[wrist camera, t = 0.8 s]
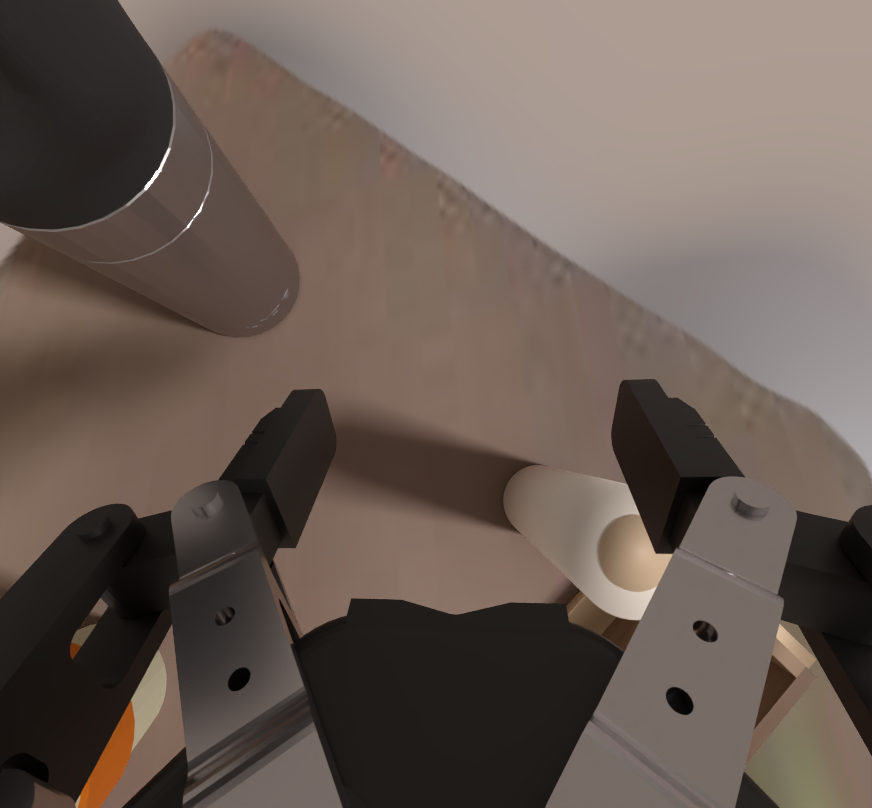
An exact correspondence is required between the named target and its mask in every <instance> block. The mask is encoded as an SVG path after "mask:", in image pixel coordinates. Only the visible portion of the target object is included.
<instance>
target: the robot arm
mask: <svg viewBox="0 0 872 808" xmlns="http://www.w3.org/2000/svg"><path fill="white" fill-rule="evenodd" d="M0 222H1V223H3V224H5V225H7V226H8V227H10V228H12V229H14V230H16V231H18V232H20V233H22V234H24V235H26V236H28V237H30V238H32V239H34V240H36V241H38V242H40V243H42V244H44V245H46V246H48V247H50V248H52V249H54V250H56V251H58V252H60V253H62V254H64V255H66V256H68V257H70V258H72V259H73V260H75V261H77V262H79V263H81V264H83V265H85V266H87V267H89V268H91V269H93V270H95V271H97V272H99V273H101V274H103V275H104V276H106V277H108V278H110V279H112V280H114V281H116V282H118V283H120V284H122V285H124V286H126V287H128V288H130V289H132V290H134V291H136V292H137V293H139V294H141V295H143V296H145V297H147V298H149V299H151V300H153V301H155V302H157V303H159V304H161V305H163V306H165V307H167V308H168V309H170V310H172V311H174V312H176V313H178V314H180V315H182V316H184V317H185V318H187V319H189V320H191V321H193V322H195V323H197V324H199V325H201V326H203V327H205V328H207V329H209V330H211V331H213V332H216V333H218V334H221V335H224V336H231V337H249V336H253V335H257V334H261V333H263V332H265V331H267V330H269V329H271V328H272V327H274V326H275V325H276V324H278V323H279V322H280V321H281V320H282V319H283V318H284V317H285V316H286V315H287V313H288V312H289V311H290V309H291V307H292V305H293V304H294V302H295V299H296V296H297V293H298V289H299V272H298V266H297V263H296V261H295V258H294V255H293V254H292V252H291V251H290V249H289V248H288V246H287V245H286V243H285V242H284V240H283V239H282V237H281V236H280V234H279V233H278V231H277V230H276V228H275V227H274V225H273V224H272V222H271V221H270V219H269V218H268V216H267V215H266V214H265V212H264V211H263V209H262V208H261V206H260V205H259V203H258V202H257V201H256V199H255V198H254V196H253V195H252V193H251V192H250V191H249V189H248V188H247V186H246V185H245V183H244V182H243V180H242V179H241V178H240V176H239V175H238V173H237V172H236V170H235V169H234V167H233V166H232V165H231V163H230V162H229V160H228V159H227V157H226V156H225V154H224V153H223V152H222V150H221V149H220V147H219V146H218V144H217V143H216V141H215V140H214V139H213V137H212V136H211V134H210V133H209V131H208V130H207V128H206V127H205V126H204V124H203V123H202V121H201V120H200V118H199V117H198V116H197V115H196V113H195V112H194V110H193V109H192V107H191V106H190V104H189V103H188V102H187V100H186V99H185V97H184V96H183V94H182V93H181V92H180V90H179V89H178V87H177V86H176V84H175V83H174V81H173V80H172V79H171V77H170V76H169V74H168V73H167V71H166V70H165V68H164V67H163V66H162V64H161V63H160V61H159V60H158V59H157V57H156V56H155V54H154V53H153V51H152V50H151V48H150V47H149V46H148V44H147V43H146V42H145V40H144V39H143V37H142V36H141V34H140V33H139V32H138V30H137V29H136V27H135V26H134V24H133V23H132V21H131V20H130V18H129V17H128V15H127V14H126V12H125V11H124V9H123V8H122V6H121V5H120V3H119V2H118V0H0ZM611 439H612V446H613V450H614V453H615V455H616V458H617V460H618V463H619V465H620V468H621V470H622V473H623V475H624V478H625V480H626V482H627V485H628V487H629V490H630V492H631V495H632V497H633V500H634V502H635V505H636V507H637V509H638V512H639V514H640V517H641V519H642V522H643V524H644V527H645V529H646V532H647V534H648V536H649V539H650V541H651V544H652V546H653V549H654V551H655V554H673V555H672V557H671V559H670V561H669V563H668V565H667V567H666V569H665V571H664V573H663V575H662V577H661V579H660V581H659V583H658V585H657V587H656V589H655V591H654V594H653V596H652V598H651V600H650V602H649V604H648V606H647V608H646V610H645V612H644V614H643V616H642V618H641V620H640V622H639V624H638V626H637V628H636V630H635V632H634V634H633V636H632V638H631V640H630V642H629V644H628V646H627V648H626V650H625V651H624V650H623V649H621V648H620V647H619V646H617V645H616V644H614V643H613V642H611V641H610V640H609V639H607V638H605V637H604V636H602V635H600V634H598V633H596V632H594V631H593V630H590V629H588V628H585V627H583V626H580V625H578V624H575V623H571V622H569V618H568V612H567V607H566V604H546V603H507V604H503V605H498V606H494V607H490V608H485V609H481V610H477V611H472V612H468V613H464V614H458V615H453V614H448V613H445V612H441V611H438V610H435V609H431V608H428V607H424V606H421V605H418V604H414V603H411V602H407V601H404V600H389V599H351V602H350V605H349V609H348V613H347V616H344V617H340V618H337V619H335V620H332V621H329V622H327V623H325V624H323V625H321V626H319V627H317V628H315V629H313V630H312V631H310V632H309V633H307V634H305V635H304V636H303V634H302V631H301V629H300V627H299V624H298V622H297V619H296V616H295V614H294V611H293V608H292V606H291V603H290V601H289V598H288V595H287V593H286V590H285V587H284V585H283V582H282V579H281V577H280V574H279V571H278V569H277V566H276V564H275V562H274V559H273V558H274V556H275V553H276V551H277V549H278V548H296V546H297V543H298V541H299V539H300V536H301V534H302V531H303V529H304V527H305V524H306V522H307V519H308V517H309V514H310V512H311V510H312V507H313V505H314V502H315V500H316V498H317V495H318V493H319V490H320V488H321V486H322V483H323V481H324V478H325V476H326V473H327V471H328V469H329V466H330V464H331V461H332V459H333V457H334V454H335V450H336V434H335V430H334V426H333V422H332V419H331V415H330V412H329V408H328V405H327V401H326V397H325V394H324V392H323V391H322V390H321V389H305V390H293V391H292V392H291V393H290V395H289V396H288V398H287V399H286V401H285V402H284V404H283V405H282V407H281V408H275V409H274V410H272V411H271V412H270V413H268V414H267V415H266V416H264V417H263V418H262V419H261V420H260V421H259V423H258V424H257V426H256V427H255V428H254V430H253V431H252V434H250V436H249V437H248V438H247V440H246V441H245V445H243V446H242V447H241V448H240V450H239V451H238V453H237V454H236V455H235V457H234V458H233V460H232V461H231V463H230V464H229V465H228V467H227V468H226V470H225V471H224V473H223V474H222V475H221V477H220V478H219V480H217V481H211V482H207V483H205V484H202V485H200V486H198V487H196V488H194V489H192V490H190V491H189V492H188V493H186V494H185V495H184V496H183V497H181V498H180V499H179V501H178V502H177V503H176V504H175V506H174V508H173V510H172V511H167V512H163V513H159V514H155V515H151V516H147V517H143V518H139V519H138V517H137V516H136V514H135V513H134V512H133V510H132V509H131V508H130V507H129V506H127V505H125V504H110V505H106V506H103V507H99V508H97V509H94V510H92V511H90V512H88V513H86V514H84V515H83V516H81V517H79V518H78V519H77V520H75V521H74V522H72V523H71V524H70V525H69V526H68V527H67V528H66V529H65V530H64V531H63V532H62V533H61V534H60V535H59V536H58V537H57V538H56V539H55V540H54V542H53V543H52V544H51V545H50V546H49V547H48V548H47V549H46V550H45V551H44V552H43V554H42V555H41V556H40V557H39V558H38V559H37V560H36V561H35V562H34V563H33V564H32V565H31V567H30V568H29V569H28V570H27V571H26V572H25V573H24V574H23V575H22V576H21V577H20V579H19V580H18V581H17V582H16V583H15V584H14V585H13V586H12V587H11V588H10V589H9V590H8V592H7V593H6V594H5V595H4V596H3V597H2V598H1V599H0V808H76V806H75V803H76V802H77V800H78V798H79V796H80V794H81V792H82V790H83V788H84V787H85V785H86V783H87V781H88V779H89V777H90V775H91V774H92V772H93V770H94V768H95V766H96V764H97V762H98V761H99V759H100V757H101V755H102V753H103V751H104V749H105V748H106V746H107V744H108V742H109V740H110V738H111V736H112V735H113V733H114V731H115V729H116V727H117V725H118V723H119V721H120V720H121V718H122V716H123V714H124V712H125V710H126V708H127V707H128V705H129V703H130V701H131V699H132V697H133V695H134V694H135V692H136V690H137V688H138V686H139V684H140V682H141V681H142V679H143V677H144V675H145V673H146V671H147V669H148V668H149V666H150V664H151V662H152V660H153V658H154V656H155V654H156V653H157V651H158V649H159V647H160V645H161V643H162V641H163V640H164V638H165V636H166V634H167V632H168V630H169V628H170V627H171V625H172V626H173V635H174V644H175V653H176V662H177V671H178V681H179V690H180V699H181V708H182V717H183V726H184V735H185V744H186V747H185V748H183V749H182V750H181V751H180V752H179V753H178V754H177V755H176V756H175V757H174V758H173V759H172V760H171V761H170V762H169V763H168V764H167V765H166V766H165V767H164V768H163V769H162V770H161V771H160V772H158V773H157V774H156V775H155V776H154V777H153V778H152V779H151V780H150V781H149V782H148V783H147V784H146V785H145V786H144V787H143V788H142V789H141V790H140V791H139V792H138V793H137V794H136V795H134V796H133V797H132V798H131V799H130V800H129V801H128V802H127V803H126V804H125V805H124V806H123V807H122V808H779V807H778V806H777V805H776V803H775V802H774V801H773V800H772V799H771V798H770V797H769V796H768V795H767V794H766V793H765V792H764V791H763V790H762V789H761V788H760V787H759V786H758V785H757V784H756V783H755V782H754V781H753V780H752V779H751V778H750V777H749V776H748V775H747V774H746V773H745V772H744V768H745V764H746V760H747V756H748V752H749V747H750V743H751V739H752V735H753V731H754V727H755V723H756V719H757V714H758V710H759V706H760V702H761V698H762V694H763V690H764V686H765V681H766V677H767V673H768V669H769V665H770V661H771V657H772V652H773V648H774V644H775V640H776V636H777V632H778V628H779V624H780V620H783V621H787V622H790V623H793V624H797V625H798V626H799V628H800V629H801V631H802V633H803V635H804V636H805V638H806V640H807V642H808V644H809V645H810V647H811V649H812V651H813V652H814V654H815V656H816V658H817V660H818V661H819V663H820V665H821V667H822V668H823V670H824V672H825V674H826V676H827V677H828V679H829V681H830V683H831V684H832V686H833V688H834V690H835V692H836V693H837V695H838V697H839V699H840V700H841V702H842V704H843V706H844V707H845V709H846V711H847V713H848V715H849V716H850V718H851V720H852V722H853V723H854V725H855V727H856V729H857V731H858V732H859V734H860V736H861V738H862V739H863V741H864V743H865V745H866V747H867V748H868V750H869V752H870V754H871V755H872V505H869V506H864V507H861V508H859V509H858V510H856V512H855V513H854V514H853V516H852V517H851V519H850V520H849V522H845V521H841V520H836V519H832V518H827V517H822V516H818V515H813V514H808V513H804V512H800V511H796V510H795V508H794V506H793V505H792V504H791V502H790V501H789V500H788V499H787V498H786V497H785V496H784V495H782V494H781V493H780V492H778V491H777V490H775V489H774V488H772V487H770V486H768V485H766V484H764V483H761V482H759V481H756V480H753V479H749V478H745V476H744V475H743V474H742V472H741V471H740V470H739V468H738V467H737V465H736V464H735V463H734V461H733V460H732V459H731V457H730V456H729V455H728V453H727V452H726V451H725V449H724V448H723V447H722V445H721V444H720V442H719V441H718V440H717V438H714V434H713V433H712V432H711V430H710V429H709V428H708V426H705V422H704V421H703V419H702V418H701V417H700V415H699V414H698V413H697V411H696V410H695V409H694V408H692V407H691V406H689V405H688V404H686V403H685V402H683V401H682V400H680V399H679V398H668V397H667V395H666V394H665V392H664V391H663V389H662V388H661V386H660V385H659V383H658V382H657V381H656V380H655V379H642V380H623V381H622V382H621V384H620V387H619V392H618V397H617V403H616V408H615V413H614V419H613V424H612V431H611ZM100 597H101V599H102V600H103V601H104V602H105V603H106V604H107V605H108V606H109V607H108V608H107V610H106V611H105V613H104V614H103V616H102V617H101V619H100V620H99V621H98V623H97V624H96V626H95V627H94V629H93V630H92V632H91V633H90V635H89V636H88V638H87V639H86V640H85V642H84V643H83V645H82V646H81V648H80V649H79V651H78V652H77V654H76V655H75V656H74V658H73V659H72V658H71V655H70V646H71V642H72V639H73V636H74V634H75V633H76V631H77V630H78V628H79V627H80V625H81V624H82V623H83V621H84V620H85V618H86V617H87V616H88V614H89V613H90V611H91V610H92V609H93V607H94V606H95V604H96V603H97V602H98V600H99V599H100Z"/></svg>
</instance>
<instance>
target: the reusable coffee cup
mask: <svg viewBox="0 0 872 808" xmlns="http://www.w3.org/2000/svg"><path fill="white" fill-rule="evenodd" d="M95 626H96V624H93V625H89V626H86V627H84V628H81V629H79V630H77V631H76V633H75V634H74V636H73V639H72V642H71V646H70V655H71V658H72V659H73V658H74V656H75V655H76V654H77V652H78V651H79V649H80V648H81V646H82V645H83V643H84V642H85V640H86V639H87V638H88V636H89V635H90V633H91V632H92V630H93V629H94V627H95ZM166 681H167V676H166V670H165V664H164V662H163V659H162V656H161V654H160V652H159V650H158V651H157V653H156V654H155V656H154V658H153V660H152V662H151V664H150V666H149V668H148V669H147V671H146V673H145V675H144V677H143V679H142V681H141V682H140V684H139V686H138V688H137V690H136V692H135V694H134V695H133V697H132V699H131V701H130V703H129V705H128V707H127V708H126V710H125V712H124V714H123V716H122V718H121V720H120V721H119V723H118V725H117V727H116V729H115V731H114V733H113V735H112V736H111V738H110V740H109V742H108V744H107V746H106V748H105V749H104V751H103V753H102V755H101V757H100V759H99V761H98V762H97V764H96V766H95V768H94V770H93V772H92V774H91V775H90V777H89V779H88V781H87V783H86V785H85V787H84V788H83V790H82V792H81V794H80V796H79V798H78V800H77V802H76V803H75V806H76V808H100V807H101V805H102V804H103V802H104V801H105V800H106V798H107V797H108V795H109V794H110V792H111V791H112V789H113V788H114V786H115V785H116V783H117V782H118V780H119V779H120V778H121V776H122V774H123V772H124V770H125V767H126V765H127V763H128V760H129V758H130V754H131V752H132V750H133V749H134V747H135V746H136V745H137V743H138V742H139V740H140V739H141V738H142V736H143V735H144V733H145V732H146V731H147V729H148V728H149V726H150V725H151V724H152V722H153V721H154V719H155V718H156V716H157V715H158V713H159V711H160V708H161V706H162V704H163V701H164V697H165V693H166Z"/></svg>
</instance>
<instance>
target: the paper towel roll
mask: <svg viewBox="0 0 872 808" xmlns="http://www.w3.org/2000/svg"><path fill="white" fill-rule="evenodd" d="M503 506H504V511H505V514H506V516H507V518H508V520H509V521H510V523H511V524H512V525H513V526H514V527H515V528H516V529H517V530H518V531H519V532H520V533H521V534H522V535H523V536H524V537H525V538H526V539H527V540H528V541H529V542H530V543H531V544H532V545H533V546H534V547H536V548H537V549H538V550H539V551H540V552H541V553H542V554H543V555H544V556H545V557H546V558H547V559H548V560H549V561H550V562H551V563H552V564H553V565H554V566H555V567H556V568H557V569H559V570H560V571H561V572H562V573H563V574H564V575H565V576H566V577H567V578H568V579H569V580H570V581H571V582H572V583H573V584H574V585H575V586H576V587H577V588H578V589H579V590H580V591H582V592H583V593H584V594H585V595H586V596H587V597H588V598H589V599H590V600H591V601H592V602H593V603H594V604H595V605H597V606H598V607H599V608H601V609H602V610H604V611H605V612H607V613H609V614H611V615H613V616H616V617H619V618H623V619H628V620H641V618H642V616H643V614H644V612H645V610H646V608H647V606H648V604H649V602H650V600H651V598H652V596H653V594H654V591H655V589H656V587H657V585H658V583H659V581H660V579H661V577H662V575H663V573H664V571H665V569H666V567H667V565H668V563H669V561H670V559H671V557H672V555H673V554H655V551H654V549H653V546H652V544H651V541H650V539H649V536H648V534H647V532H646V529H645V527H644V524H643V522H642V519H641V517H640V514H639V512H638V509H637V507H636V505H635V502H634V500H633V497H632V495H631V492H630V490H629V487H628V485H627V484H624V483H620V482H615V481H611V480H606V479H602V478H598V477H593V476H589V475H584V474H580V473H575V472H571V471H567V470H562V469H558V468H553V467H549V466H544V465H532V466H528V467H525V468H523V469H521V470H519V471H518V472H516V473H515V474H514V475H513V476H512V477H511V479H510V480H509V482H508V483H507V485H506V488H505V491H504V496H503Z"/></svg>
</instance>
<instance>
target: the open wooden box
mask: <svg viewBox="0 0 872 808" xmlns="http://www.w3.org/2000/svg"><path fill="white" fill-rule="evenodd" d="M566 607H567V612H568V618H569V622H571V623H575V624H578V625H580V626H583V627H585V628H588V629H590V630H593V631H594V632H596V633H598V634H600V635H602V636H604V637H605V638H607V639H609V640H610V641H611V642H613V643H614V644H616V645H617V646H619V647H620V648H621V649H623V650H624V651H625V650H626V648H627V646H628V644H629V642H630V640H631V638H632V636H633V634H634V632H635V630H636V628H637V626H638V624H639V622H640V620H628V619H623V618H619V617H616V616H613V615H611V614H609V613H607V612H605V611H604V610H602V609H601V608H599V607H598V606H597V605H595V604H594V603H593V602H592V601H591V600H590V599H589V598H588V597H587V596H586V595H585V594H584V593H583V592H582V591H579V592H578V593H577V595H576V596H575V597H574V598H573V599H572V600H571V601H570V602H569V603H568V605H567V606H566ZM815 660H816V659H815V658H814V657H813V656H812V655H811V654H810V653H809V652H808V651H807V650H806V649H805V648H804V647H803V646H802V645H801V644H800V643H799V642H798V641H796V640H795V639H794V638H793V637H792V636H791V635H790V634H789V633H788V632H787V631H786V630H785V629H784V628H783V627H782V626H781V625H780V624H779V628H778V632H777V636H776V640H775V644H774V648H773V652H772V657H771V661H770V665H769V669H768V673H767V677H766V681H765V686H764V690H763V694H762V698H761V702H760V706H759V710H758V714H757V719H756V723H755V727H754V731H753V735H752V739H751V743H750V747H749V752H748V756H747V760H746V764H747V762H748V761H749V760H750V759H751V757H752V756H753V755H754V754H755V753H756V751H757V750H758V749H759V748H760V746H761V745H762V744H763V743H764V741H765V740H766V739H767V738H768V737H769V735H770V734H771V733H772V732H773V730H774V729H775V728H776V727H777V726H778V724H779V723H780V722H781V721H782V719H783V718H784V717H785V716H786V715H787V713H788V712H789V711H790V710H791V708H792V707H793V706H794V705H795V703H796V702H797V701H798V700H799V699H800V697H801V696H802V695H803V694H804V692H805V691H806V690H807V689H808V688H809V686H810V685H811V684H812V683H813V681H814V680H815V679H816V678H817V677H816V676H815V675H814V674H813V673H812V672H811V671H810V670H809V667H810V666H811V665H812V664H813V663H814V661H815ZM746 764H745V765H746Z"/></svg>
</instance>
